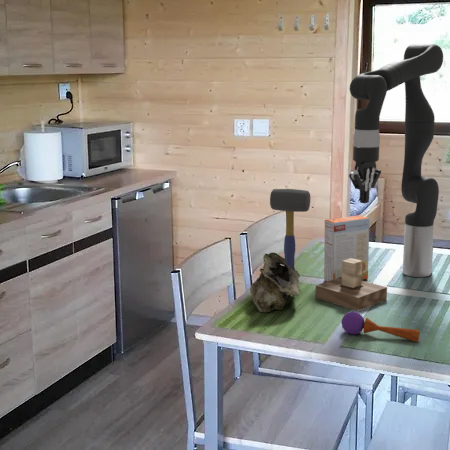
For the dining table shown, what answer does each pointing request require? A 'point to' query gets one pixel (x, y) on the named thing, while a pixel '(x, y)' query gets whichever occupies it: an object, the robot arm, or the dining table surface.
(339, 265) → the cracker box
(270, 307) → the hollow geode rock
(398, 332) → the kendama
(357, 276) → the beech leg
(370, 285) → the seat board
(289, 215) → the rubber mallet
